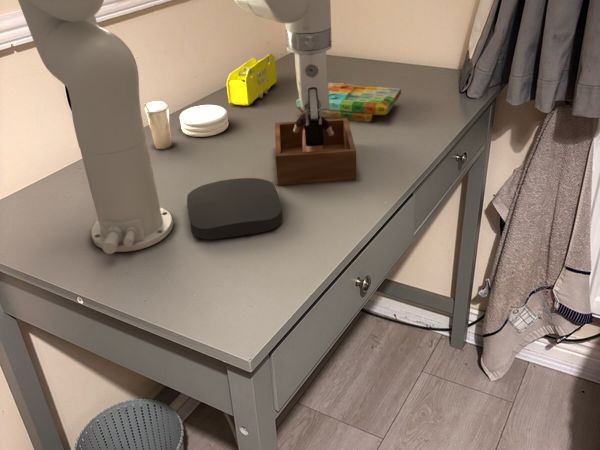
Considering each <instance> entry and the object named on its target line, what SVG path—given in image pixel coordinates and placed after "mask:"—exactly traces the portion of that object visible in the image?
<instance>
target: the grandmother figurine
mask: <svg viewBox="0 0 600 450" xmlns="http://www.w3.org/2000/svg"><path fill="white" fill-rule="evenodd" d="M308 107H310V105H307V108H308ZM317 107H319V105H317ZM308 114H309V115H310V112H308ZM321 118H322V123H323V128H324V129H325V130H326V131H327V132H328V135H329V136H333V135H334V132H333V131H332V128H331V124H330V123H329V122H328V121H327V120H326V119H327V118H326V117H322V116H321ZM295 122H296V123H295V128H294V129H293V131H294V132H295V133H298V132H299V129H300V127H301V126H303V125H304V129H303V146H302V152H314V151H322V148H323V145H320V146H306V141H305V124H306V116H305V113H304V114H303V113H301V115H300V116H299V117H298V118H297V119H296V121H295Z"/></svg>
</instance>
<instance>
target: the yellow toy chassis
mask: <svg viewBox="0 0 600 450" xmlns="http://www.w3.org/2000/svg"><path fill="white" fill-rule="evenodd" d="M225 83H226V90H227V91H226V92H227V99H228V104H233V105H238V106H251V105H252V104H253V103H254V101H255V100H256V99H258V98H259V99H263V97H264V94H266V95H267V94H268V91H269V90H270V89H271V87H273V85H275V84H276V83H277V69H276V57H275V56H274V55H273V53H269V54H267V55H266V56H264V57H263V58H261V59H258V60H257V59H256V58H255V57H251V58H250V59H249V60H247V61H246V62H244V63H243V64H241V65H240V66H239V67H237V68H236V69H234V70H233V71H232V72H230V73H229V74H228V77H227V80H226V81H225Z"/></svg>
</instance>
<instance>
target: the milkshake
mask: <svg viewBox="0 0 600 450" xmlns="http://www.w3.org/2000/svg"><path fill="white" fill-rule="evenodd" d="M143 106H144V112H145V116H146V118H147V123H148V125H149V129H150V133H151V136H152V140H153V143H154V147H155V148H156V149H157V150H166V149H168V148H170V147H172V136H171V127H170V126H171V125H170V111H169V105H168V104H167V103H166V102H165V101H161V100H158V101H156V100H153V101H151V102H147V104H146V103H143Z"/></svg>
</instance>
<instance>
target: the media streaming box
mask: <svg viewBox="0 0 600 450" xmlns="http://www.w3.org/2000/svg"><path fill="white" fill-rule="evenodd" d="M186 206H187V214H188V218H189V225H190V230H191V234H192V235H194V236H195V237H197V238H199V239H203V240H218V239H226V238H233V237H240V236H246V235H251V234H259V233H264V232H268V231H269V232H270V231H271V230H273V229H276V228H277V227H279V226H280V225H281V224H282V222H283V219H284V218H283V208H282V202H281V198H280V196H279V192H278V190H277V188H276V186H275V184H274V183H273V182H272V181H269V180H267V179H263V178H257V177H241V178H230V179H223V180H218V181H213V182H210V183H207V184H206V183H205V184H202V185H200V186H198V187H196V188H194V189H193V190H191V191H190V192H188V194H187V195H186Z"/></svg>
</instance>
